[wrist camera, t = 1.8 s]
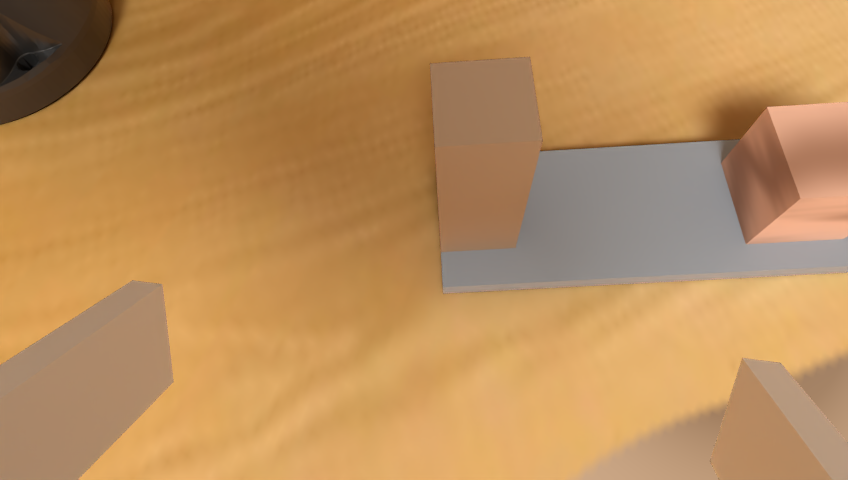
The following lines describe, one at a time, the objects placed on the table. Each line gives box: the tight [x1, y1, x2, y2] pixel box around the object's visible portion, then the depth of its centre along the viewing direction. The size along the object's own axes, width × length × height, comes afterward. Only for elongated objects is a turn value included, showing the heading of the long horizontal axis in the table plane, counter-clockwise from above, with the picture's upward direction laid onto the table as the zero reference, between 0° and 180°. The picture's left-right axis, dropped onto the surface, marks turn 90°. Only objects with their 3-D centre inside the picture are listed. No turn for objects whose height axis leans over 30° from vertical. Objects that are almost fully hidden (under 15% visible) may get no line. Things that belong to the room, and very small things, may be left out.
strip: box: [430, 57, 848, 293], centre depth 26 cm, size 8×22×11 cm, turn 92°
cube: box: [721, 102, 848, 244], centre depth 27 cm, size 5×5×5 cm
